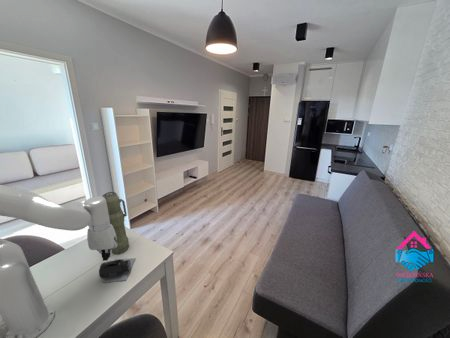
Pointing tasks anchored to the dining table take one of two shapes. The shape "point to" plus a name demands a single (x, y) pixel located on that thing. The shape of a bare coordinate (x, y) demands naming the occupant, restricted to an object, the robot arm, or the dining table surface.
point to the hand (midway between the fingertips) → (106, 258)
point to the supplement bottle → (114, 268)
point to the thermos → (117, 221)
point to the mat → (123, 276)
